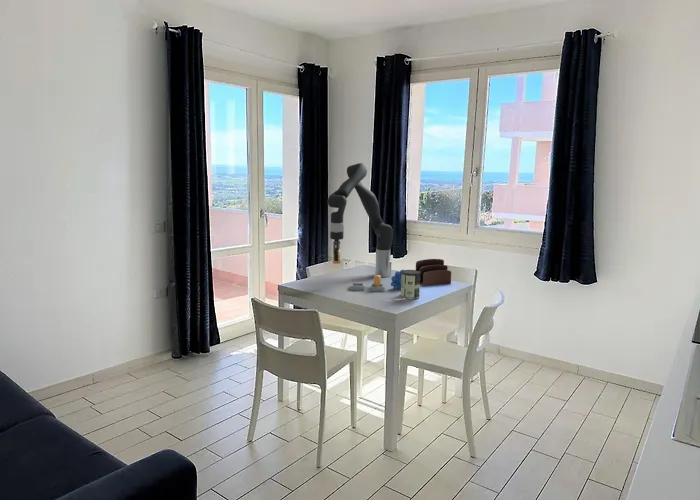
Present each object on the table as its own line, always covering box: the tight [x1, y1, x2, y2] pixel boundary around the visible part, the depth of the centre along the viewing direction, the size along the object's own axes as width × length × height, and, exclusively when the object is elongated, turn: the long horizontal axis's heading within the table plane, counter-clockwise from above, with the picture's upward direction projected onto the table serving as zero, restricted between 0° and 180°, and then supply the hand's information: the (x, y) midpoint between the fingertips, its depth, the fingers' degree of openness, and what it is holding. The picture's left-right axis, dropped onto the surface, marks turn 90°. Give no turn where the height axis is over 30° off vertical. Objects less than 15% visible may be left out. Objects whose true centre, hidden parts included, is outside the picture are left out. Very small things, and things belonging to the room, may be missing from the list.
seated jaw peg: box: [373, 274, 382, 287], centre depth 288 cm, size 4×4×8 cm
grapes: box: [390, 269, 404, 290], centre depth 292 cm, size 12×7×12 cm, turn 109°
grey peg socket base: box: [348, 282, 386, 293], centre depth 289 cm, size 20×11×4 cm, turn 86°
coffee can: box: [400, 269, 421, 300], centre depth 278 cm, size 10×10×14 cm
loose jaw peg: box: [332, 248, 341, 265], centre depth 292 cm, size 4×4×8 cm
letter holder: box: [415, 258, 452, 286], centre depth 312 cm, size 10×20×14 cm, turn 112°
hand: (336, 260), depth 293 cm, fingers closed on loose jaw peg, 4 cm apart
